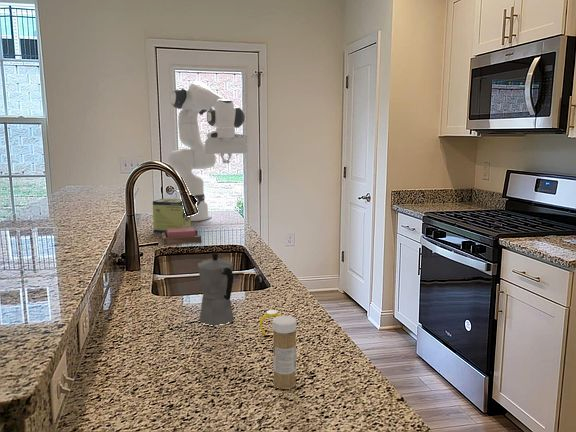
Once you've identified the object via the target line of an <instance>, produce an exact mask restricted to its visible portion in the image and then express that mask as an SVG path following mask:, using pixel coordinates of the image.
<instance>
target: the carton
mask: <svg viewBox="0 0 576 432" xmlns="http://www.w3.org/2000/svg"><path fill="white" fill-rule="evenodd" d="M195 230H196V229H195V228H194V226H191V227H183V228H167V237H166V238H176V237H191V236H197V235H195Z"/></svg>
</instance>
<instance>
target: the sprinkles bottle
mask: <svg viewBox="0 0 576 432" xmlns="http://www.w3.org/2000/svg"><path fill="white" fill-rule="evenodd" d="M297 325H298V324H297V319H296V318H295V317H294V316H292V315H282V316H274V318H273V319H272V325H271V326H272V331H273V332H272V333H273V334H274V336H272V337H273V339H272V340H273V347H272V348H273V351H272V352H273V354H272V359H273V360H272V367H273V368H272V369H273V380H272V384H274V385H275V386H276V387H278V388H282V389H289V388H292V387H294V386H295V387H296V385H297V381H296V380H297V379H296V377H297V376H296V370H297V341H296V340H297V339H296V338H297V337H296V336H297V334H296V333H297V328H298V327H297ZM274 385H273V386H274ZM276 387H275V388H276ZM295 387H294V388H295ZM292 389H293V388H292ZM289 390H290V389H289Z"/></svg>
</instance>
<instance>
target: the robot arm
mask: <svg viewBox="0 0 576 432" xmlns="http://www.w3.org/2000/svg"><path fill="white" fill-rule="evenodd" d="M171 105H172V106H173V107H174V108H176V109H178V110H180V111H179V112H178V119H177V120H178V121H177V122H178V124H177V125H178V133H179V141H180V142H181V144H182V145H185V146H187V147H188V149H187V148H186V149H185V148H184V149H182V148H181V149H176V150H171V151H170V153H169V155H168V157H167V161H168V164H169V166H170V167H171V168H172V167H173V168H174V169H173V168H172V169H173V170H175V171H176V172H177V173H178V175H179V174H180V175H181V176H182V178H183V179H184V181H185V183H186V185H187V187H188V189H189V191H190V193H191V194H192V195H194V197H195V198H196V199H197V208H198V211H199V213H198V214H196V215H194V216H191V222H198V221H206V220H209V219H212V216H211V215H209V209H208V203H207V202H206V201H205V198H206V197H205V196H206V195H205V192H204V191H205V190H204V181H203V178H201V177H200V176H199V175H196V174H193V171H192V170H207V169H210V168H213V167H214V166H215V164H216V161H217V158H216V154H217V155H219V154H220V155H219V156H220V158H221V159H222V164H230V160H231V158H232V155H233V154H234V155H235V154H237V155H238V154H247V151H248V148H247V147H248V146H247V143H248V138H247V136H246V134H243V133H240V134H239V133H236V129H239V128H241V126H242V125H243V124H244V123H245V117H246V116H245V113H244V111H243V110H242V109H241V108H240V107H239V106H235V105H234V102H233V100H231V99H226V98H225V97H223V96H221V95H220V94H217V93H216V92H214V91H213V90H212V89H210V87H209V86H207V84H206V83H204V82H202V81H196V80H195V81H193V82H192V83H190V85H189V86H188V89H185V88H183V87H182V88H179V89H175V90H174V91H172V94H171ZM205 113H206V122H207V123H208V124H209V126H210V127H213V128H215V130H213V131H210V132H207V133H206V137H207V138H206V139H205V141H204V142H203V140H202V138H201V133H200V127H199V121H198V115H200V116H203V115H204V114H205ZM225 154H226V155H227V156H228V157H227V158H226V159H225V158H224V156H225ZM180 175H179V176H180ZM181 176H180V177H181Z"/></svg>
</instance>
